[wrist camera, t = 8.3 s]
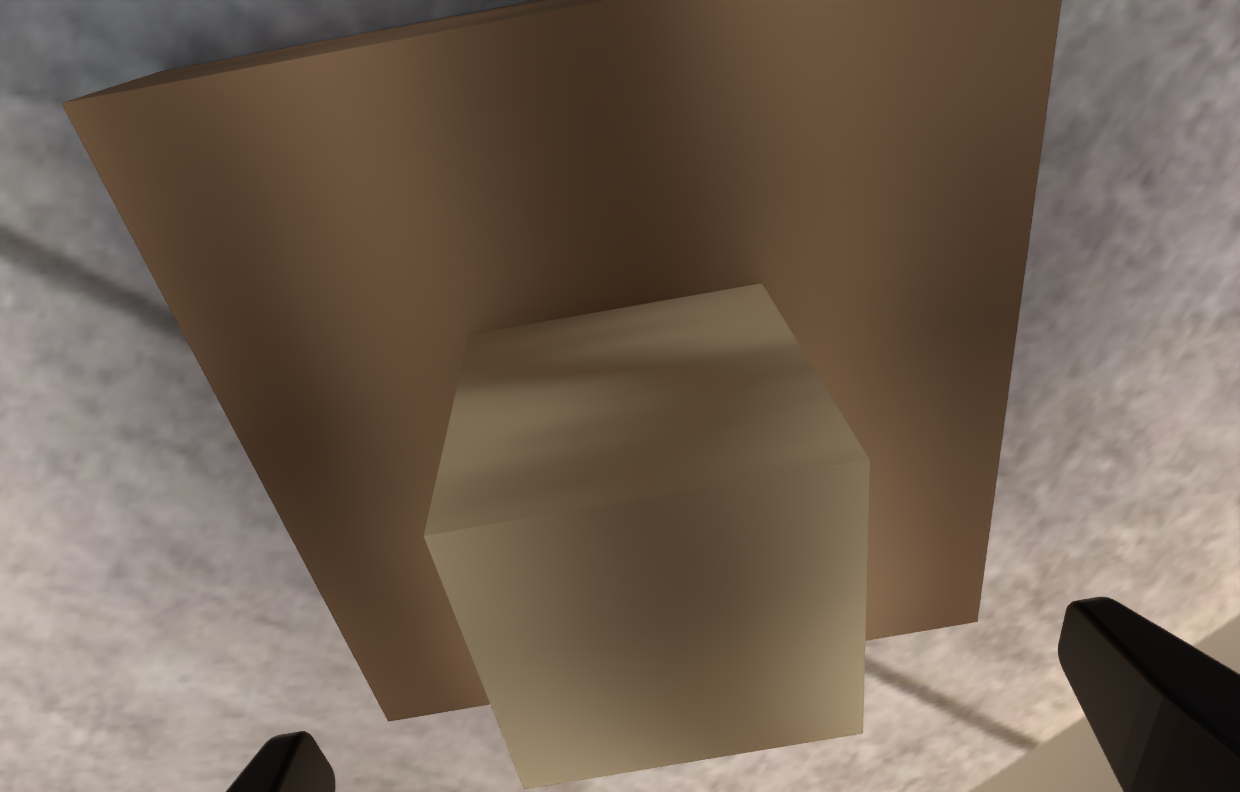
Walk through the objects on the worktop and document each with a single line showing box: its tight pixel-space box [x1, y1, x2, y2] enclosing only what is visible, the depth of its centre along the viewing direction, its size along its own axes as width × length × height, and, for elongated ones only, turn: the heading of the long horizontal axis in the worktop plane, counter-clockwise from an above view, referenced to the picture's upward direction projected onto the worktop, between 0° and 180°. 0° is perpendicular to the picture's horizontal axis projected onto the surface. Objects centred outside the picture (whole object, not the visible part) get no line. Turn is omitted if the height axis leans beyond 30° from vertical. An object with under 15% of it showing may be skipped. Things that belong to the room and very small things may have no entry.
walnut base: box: [61, 0, 1062, 722], centre depth 15 cm, size 14×14×3 cm
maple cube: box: [424, 283, 870, 789], centre depth 12 cm, size 5×5×5 cm
